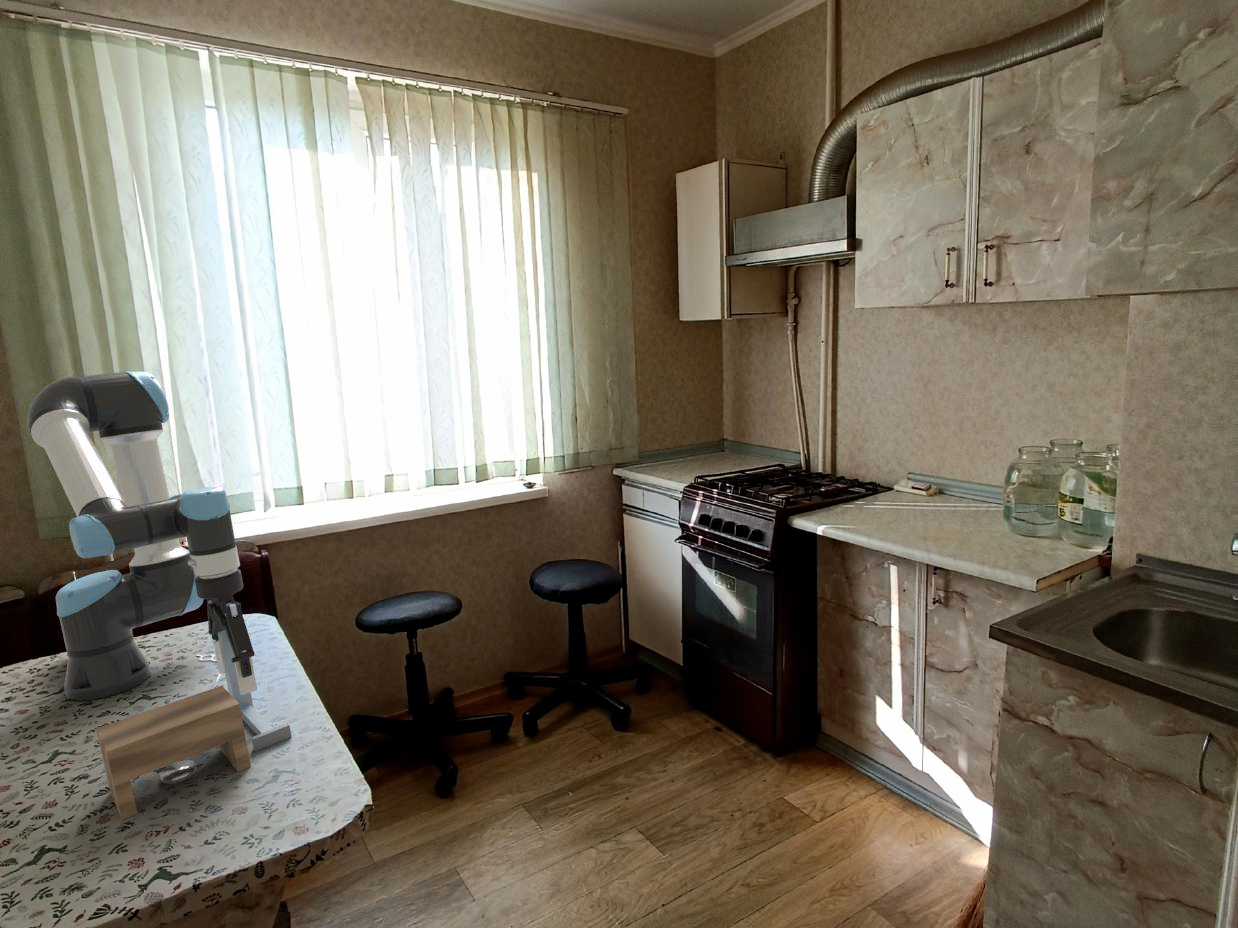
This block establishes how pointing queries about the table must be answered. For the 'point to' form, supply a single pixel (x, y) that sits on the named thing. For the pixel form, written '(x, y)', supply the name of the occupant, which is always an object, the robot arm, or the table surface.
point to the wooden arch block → (170, 740)
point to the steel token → (178, 772)
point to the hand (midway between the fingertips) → (237, 681)
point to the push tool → (249, 703)
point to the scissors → (209, 660)
